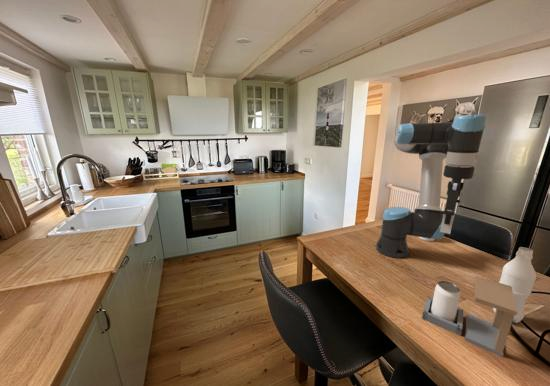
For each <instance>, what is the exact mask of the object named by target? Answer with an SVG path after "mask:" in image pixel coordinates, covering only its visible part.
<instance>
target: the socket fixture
mask: <svg viewBox="0 0 550 386" xmlns="http://www.w3.org/2000/svg"><path fill="white" fill-rule="evenodd" d="M432 302H433V297H431V296H427V299H426V301H425V305H424V307H423V312H422V316H421V317H422V318H421V319H422V320H425V321H426V322H429V323H431V324H433V325H436V326H438V327H440V328H443V329H445V330H447V331H449V332H452V333H454V334H456V335H458V336H462V332H463V323H464V309H462V308H460V307H458V308H457V313H456V323H455V322H454V323H453V322H450V321H448V320H446V319H443V318H441V317H439V316H436V315H434V314H431V312H430V309H431V307H432ZM474 302H476V303H479V304H481V305H484V306H487V307H490V308H492V309H493V308H495V309H496V312H495V313H494V316H493V319H492V322H491V321H488V320H485V319H482V318H480V317H478V316H474V315H472V314H469V313H466V314H465V326H464V327H465V331H464V332H465V333H464V340H465V341H466V342H469V343H471V344H473V345H475V346H478V347H480V348H483V349H484V350H486V351H488V352H492V353H493V354H495V355H498V356H500V357H503V358H504V354H505V353H504V349H505V346H506V343H507V339H508V336H509V333H510V330H511V327H512V323H513V318H514V315H515V316H516V315H517V308H516V304H515V299H514V295H513V291H512V287H511V286H508V285H505V284H502V283H499V282H498V281H495V280H491V279H488V278H484V277H481V276H478V275H475V277H474Z"/></svg>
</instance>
